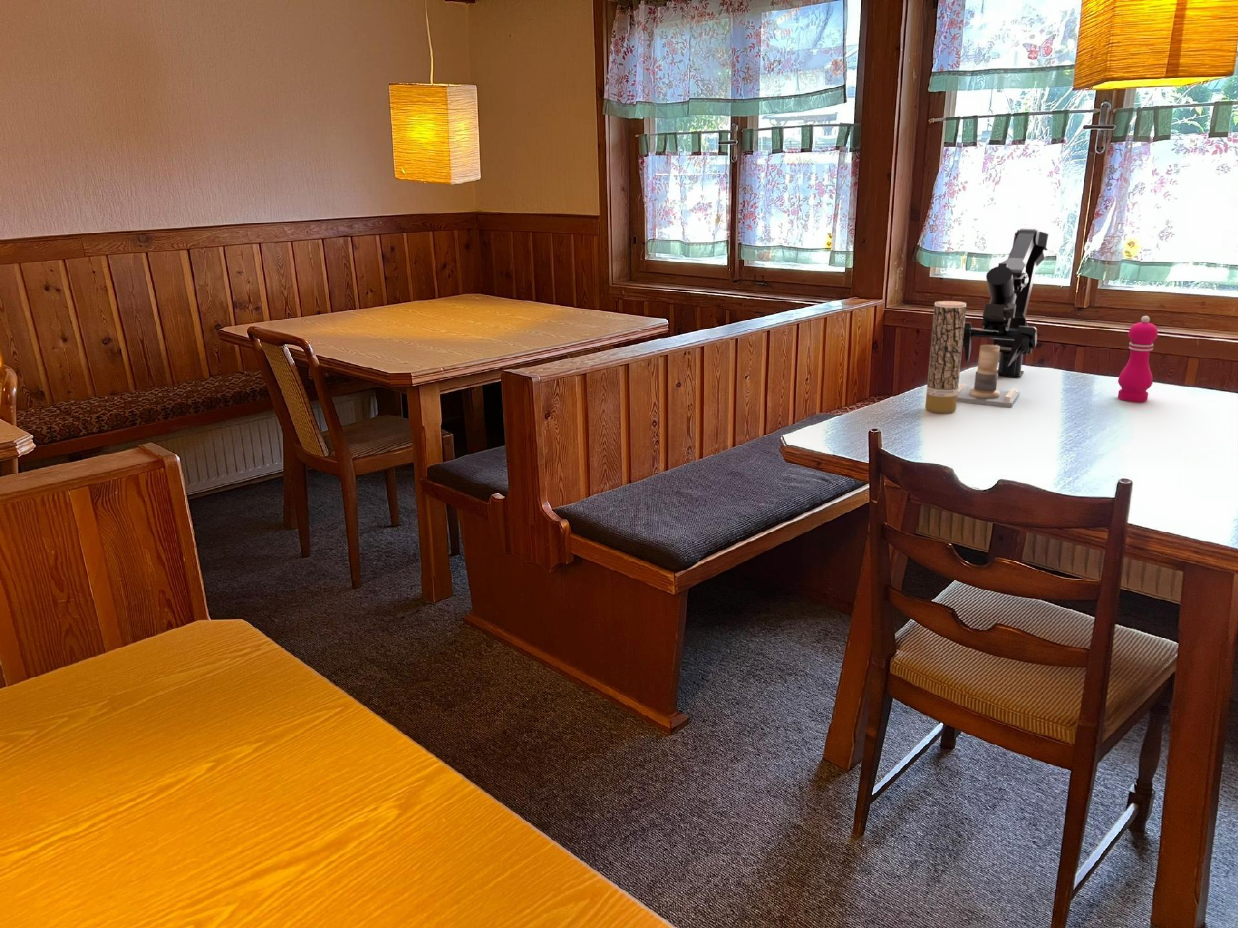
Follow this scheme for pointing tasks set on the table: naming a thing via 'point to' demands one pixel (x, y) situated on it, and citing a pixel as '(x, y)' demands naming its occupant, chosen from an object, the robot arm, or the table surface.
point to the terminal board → (1003, 400)
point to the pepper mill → (1138, 363)
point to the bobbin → (987, 373)
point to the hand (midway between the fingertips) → (986, 363)
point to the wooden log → (945, 356)
